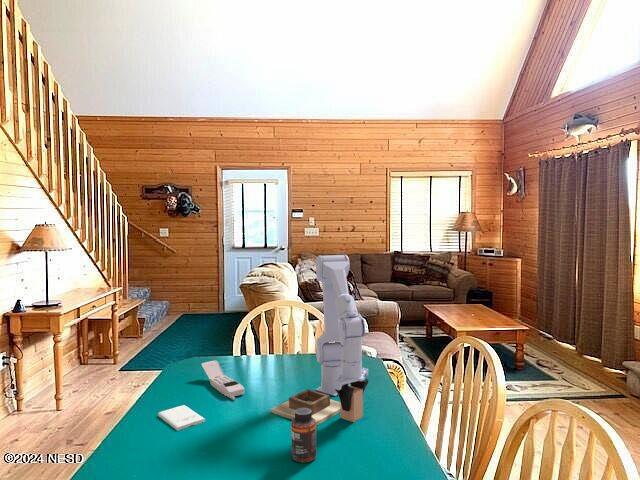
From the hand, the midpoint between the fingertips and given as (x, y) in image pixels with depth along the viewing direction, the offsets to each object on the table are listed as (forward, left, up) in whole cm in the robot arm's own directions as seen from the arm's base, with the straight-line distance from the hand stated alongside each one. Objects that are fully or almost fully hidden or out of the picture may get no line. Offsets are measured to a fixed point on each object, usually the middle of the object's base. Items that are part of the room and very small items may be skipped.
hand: (351, 407), depth 136 cm
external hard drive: (+30, -38, -4) cm, 48 cm away
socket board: (+4, -12, -3) cm, 13 cm away
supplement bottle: (+25, +4, -3) cm, 25 cm away
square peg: (0, 0, -3) cm, 3 cm away
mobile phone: (+7, -47, -3) cm, 47 cm away
